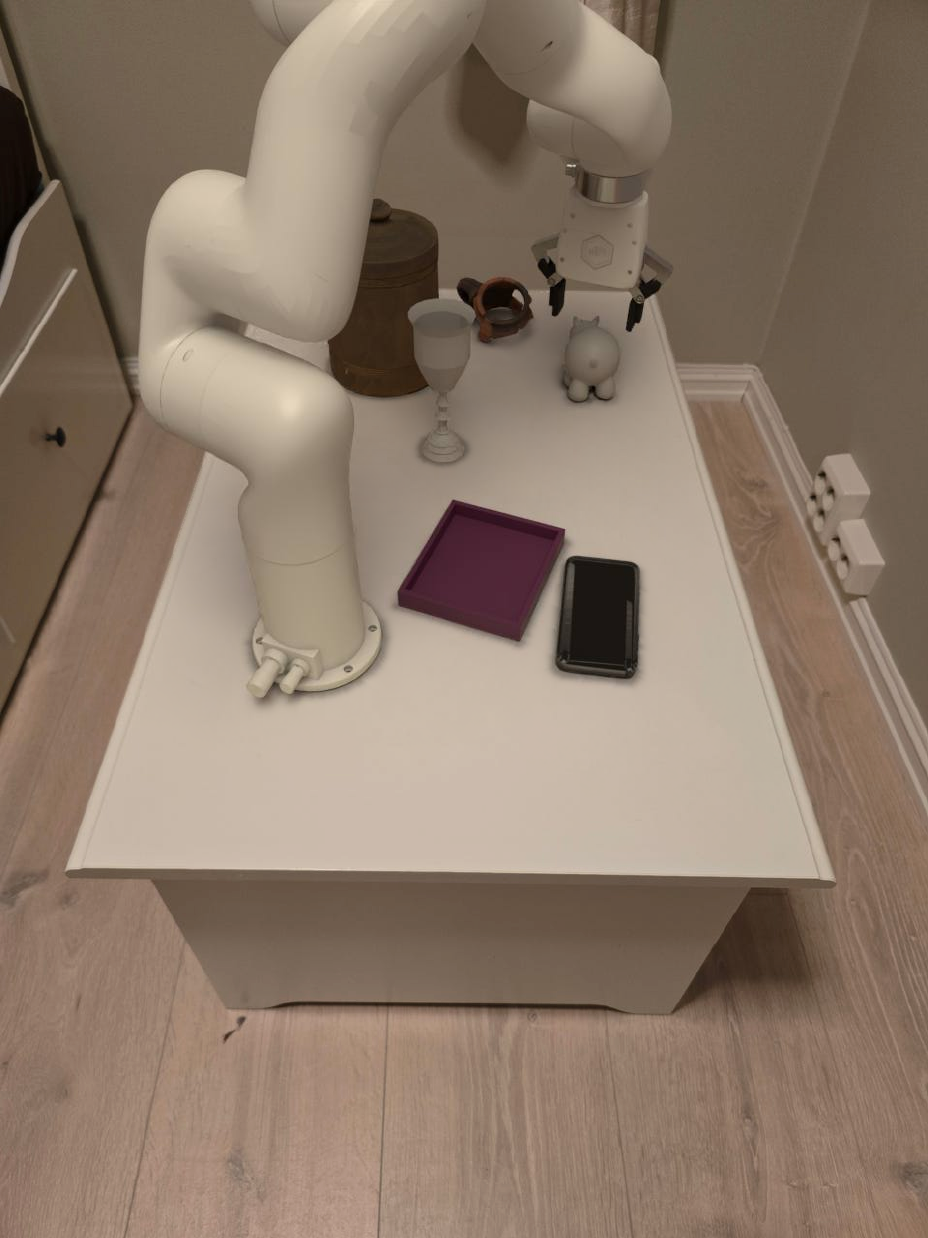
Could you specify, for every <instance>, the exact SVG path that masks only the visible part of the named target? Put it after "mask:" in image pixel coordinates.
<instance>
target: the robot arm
mask: <svg viewBox="0 0 928 1238" xmlns="http://www.w3.org/2000/svg"><path fill="white" fill-rule="evenodd" d="M249 2H250V5H251V9H252V11H253V13H254V15H255V17H256V19H257V21H258V23H259V24H260V26H261V27H262V29H263V30H264V31H265V32H266V33H267V34H268V35H269V37H271V38H272V39H273V40H274V41H275V42H276V43H278V44H279V45H281V46H283V47H284V48H286V50H285V51H284V52H283V53H282V55H281V56H280V58H279V59H278V61H277V62H276V64H275V65H274V67H273V69H272V70H271V73H270V74H269V77H268V79H267V80H266V82H265V85H264V88H263V90H262V93H261V95H260V98H259V102H258V107H257V113H256V118H255V123H254V130H253V136H252V142H251V148H250V154H249V160H248V167H247V172H246V177H245V176H241V175H238V174H235V173H231V172H228V171H226V170H225V171H224V170H220V169H210V168H209V169H206V168H205V169H197V170H194V171H190V172H187V173H185V174H183V175H182V176H180V177H178V178H176V180H175V181H174V182H172V183H171V184H170V185H169V186H168V188H167V189H166V190H165V191H164V193H163V194H162V196H161V198H160V199H159V200H158V203H157V205H156V207H155V209H154V211H153V214H152V216H151V218H150V221H149V222H150V223H149V225H148V229H147V234H146V241H145V250H144V259H143V272H142V290H141V303H140V304H141V305H140V320H139V337H138V355H137V356H138V357H137V380H138V383H137V384H138V389H139V395H140V398H141V402H142V405H143V407H144V409H145V411H146V413H147V415H149V417H150V418H151V420H152V421H153V422H154V423H155V424H156V425H157V426H158V427H160V428H161V429H163V430H164V431H165V432H166V433H169V434H171V435H172V436H174V437H176V438H178V439H179V440H182V441H183V442H186V443H188V444H190V445H192V446H194V447H196V448H198V449H201V450H202V451H205V452H206V453H209V454H210V455H213V456H214V457H215V458H217V459H219V460H221V461H223V462H225V463H226V464H229V465H230V466H232V467H234V468H236V469H237V470H239V472H241V473H242V474H243V475H244V477H245V478H246V480H247V484H248V485H247V486H246V487H245V488H244V490H243V491H242V493H241V495H240V497H239V499H238V503H237V510H236V511H237V512H236V513H237V522H238V527H239V531H240V535H241V539H242V542H243V546H244V550H245V554H246V558H247V562H248V567H249V570H250V575H251V579H252V583H253V587H254V591H255V595H256V599H257V603H258V604H257V605H258V607H259V612H260V615H261V617H260V618H259V620H257V623H256V625H255V627H254V629H253V634H252V638H251V642H252V652H253V655H254V659H255V661H256V663H257V665H258V668H257V669H256V670H255V672H254V673H253V675H252V676H251V678H250V679H249V681H248V682H247V684H246V685H245V687H246V690H247V691H248V692H249V693H250V694H251V695H253V696H256V697H257V698H264V697H265V696H266V694H267V693H268V691H269V690H270V689H271V687H272V685H273V684H274V683H276V684H278V685H279V688H280V690H281V691H282V692H284V693H285V694H289V695H291V694H293V693H294V691H301V692H323V691H327V690H334V689H336V688H338V687H341V686H342V687H343V686H345V685H347V684H349V683H350V682H353V681H354V680H356V679H357V678H359V677H360V676H361V675H362V674H364V673H365V672H366V671H367V670H368V669H369V668H370V667H371V666H372V665H373V663H374V662H375V660H376V658H377V656H378V655H379V653H380V649H381V646H382V636H383V635H382V629H381V628H382V627H381V624H380V620H379V616H378V615H377V614H376V612H375V611H374V609H373V608H372V607H371V606H370V605H369V604H368V602H366V601H365V600H364V599H362V591H361V582H360V574H359V565H358V563H359V562H358V556H357V546H356V545H357V544H356V538H355V530H354V521H353V514H352V507H351V506H352V505H351V493H350V464H351V454H352V453H351V452H352V448H353V447H352V445H353V438H354V432H355V431H354V430H355V412H354V411H355V410H354V406H353V403H352V400H351V398H350V396H349V394H348V392H347V390H346V389H345V388H344V386H343V385H342V384H341V383H340V382H338V380H337V379H336V378H335V377H334V376H333V375H331V374H330V373H328V372H327V371H325V370H324V369H322V368H321V367H320V366H317V365H316V364H314V363H312V362H311V361H308V360H306V359H305V358H302V357H299V356H297V355H295V354H292V353H289V352H287V351H284V350H282V349H280V348H278V347H276V346H275V347H274V346H272V345H270V344H268V343H265V342H261V341H258V340H257V339H254V338H252V337H248V336H247V335H244V334H241V333H240V326H241V321H242V322H244V323H246V324H248V325H252V326H254V327H256V328H258V329H262V330H264V331H266V332H269V333H272V334H274V335H277V336H280V337H283V338H286V339H290V340H293V341H298V342H302V343H312V344H313V343H314V344H315V343H316V344H317V343H321V342H325V341H328V340H329V339H331V338H333V337H334V336H335V335H337V334H338V333H339V332H340V331H341V330H342V329H343V328H344V326H345V324H346V323H347V321H348V319H349V316H350V314H351V311H352V308H353V305H354V301H355V297H356V293H357V288H358V283H359V278H360V273H361V267H362V261H363V256H364V250H365V244H366V239H367V233H368V227H369V221H370V216H371V210H372V204H373V199H375V192H376V186H377V182H378V176H379V172H380V168H381V163H382V159H383V155H384V151H385V148H386V145H387V143H388V140H389V138H390V135H391V133H392V131H393V129H394V128H395V126H396V125H397V122H398V121H399V119H400V117H402V115H403V114H404V112H405V111H406V109H408V107H409V106H410V105H411V104H412V102H413V101H414V100H415V99H416V98H417V97H418V96H419V95H420V94H421V93H422V92H423V91H424V90H425V89H426V88H427V87H428V86H430V85H431V84H432V83H433V82H435V81H436V80H437V79H438V78H440V77H441V76H442V75H443V74H445V73H447V72H448V71H449V70H450V69H451V68H452V67H453V66H454V65H455V64H457V63H458V62H459V61H460V59H461V58H462V57H463V56H464V55H465V53H467V51H468V49H469V48H470V46H471V45H472V44H473V46H474V47H475V48H476V49H477V51H478V52H479V54H480V55H481V56H482V58H483V59H484V60H485V61H486V63H487V64H488V66H489V67H490V68H491V70H492V71H493V72H494V73H495V75H496V77H498V79H499V80H500V81H501V82H502V83H503V84H504V85H506V87H508V88H509V89H511V90H513V91H515V92H516V93H518V94H520V95H521V96H523V97H525V98H527V99H529V100H528V104H527V109H526V119H525V120H526V128H527V131H528V133H529V136H530V137H531V140H533V142H534V143H535V144H536V145H537V146H538V147H539V148H541V149H543V150H545V151H547V152H550V153H552V154H556V155H560V156H563V157H567V158H571V159H575V160H577V161H574V162H567V163H566V165H565V173H564V174H565V176H569V177H571V178H572V179H573V178H574V179H573V180H574V182H575V183H574V185H572V187H571V188H569V190H568V193H567V196H566V200H565V204H564V207H563V212H562V218H561V222H560V228H559V232H557V233H554V234H551V235H549V236H545V237H543V238H539V239H536V240H535V241H534V242H533V244H532V245H531V246H530V249H531V253H532V254H533V257H534V259H535V261H536V263H537V268H538V270H539V271H540V272H541V274H542V275H543V277H544V278H545V279H546V284H547V285H548V286H549V292H548V293H549V294H548V295H549V296H548V306H549V307H551V317H553V318H556V317H558V316H559V314H560V313H561V311H562V310H563V308H564V305H565V298H566V297H565V296H566V286H567V280H569V281H575V282H579V283H584V284H590V285H595V286H598V287H605V288H609V289H610V288H611V289H615V290H628V292H629V293H630V295H631V297H632V298H631V299H630V302H629V305H628V311H627V319H626V323H625V331H626V332H627V333H632V331H633V329H634V327H635V325H636V324H638V325H639V324H640V323H641V321H642V318H643V313H644V306H645V301H646V300H647V299H648V298H650V297H652V296H653V295H655V294H656V293H658V292H659V291H660V290H661V288H662V287H663V286H664V285H665V283H666V282H667V281H668V280H669V279H670V278H671V276H672V274H673V272H674V269H675V268H674V265H672V264H671V263H670V262H668V261H667V260H666V259H665V258H663V257H662V256H661V255H660V254H658V253H657V252H655V251H654V250H653V249H651V248H650V247H649V246H648V237H649V220H650V218H649V217H650V206H649V205H650V204H649V193H648V192H647V191H646V190H644V189H645V182H646V176H647V170H649V169H651V168H652V167H653V166H655V165H656V164H657V163H658V161H659V160H660V159H661V157H662V156H663V154H664V152H665V151H666V148H667V147H668V143H669V140H670V137H671V131H672V124H673V113H672V112H673V111H672V103H671V97H670V95H669V92H668V88H667V86H666V83H665V81H664V78H663V76H662V73H661V72H662V71H661V67H660V63H659V61H658V60H657V58H655V57H654V56H653V55H651V54H649V53H647V52H646V51H645V50H644V49H643V48H642V47H641V46H639V45H638V44H637V43H636V42H634V41H633V40H631V38H629V37H628V36H627V35H626V34H625V33H624V34H623V32H621V31H620V30H619V29H617V28H616V27H615V26H613V25H612V24H611V23H609V22H608V21H607V20H606V19H605V18H603V17H602V16H601V15H600V14H598V13H597V12H596V11H594V10H592V8H590V7H588V6H587V5H586V4H584V3H582V2H581V1H580V0H249ZM554 249H556V254H555V262H554V261H553V260H552V258H551V257H550V256H549V255H548V251H551V250H554ZM645 265H646V266H648V268H650V269H652V270H653V271H654V272H655V273H656V275H655V277H653V278H652V279H650V280H648V281H647V280H646V278H645V276H644V275H643V274H642V272H643V270H644V267H645Z"/></svg>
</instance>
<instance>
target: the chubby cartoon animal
mask: <svg viewBox="0 0 928 1238" xmlns="http://www.w3.org/2000/svg"><path fill="white" fill-rule="evenodd" d="M599 324H600V315H596V316H595V317H594V318H593V319H591V320H587V319H584V320H583V317H580V319H579V318H578V317H577V316H576V315H574V316H573V318H572V327H571V328H570V330H569V334H568V341H567V343H566V345H565V347H564V351H563V363H564V368H565V369H566V370H565V371H566V373H565V376H564V385H565V386H566V387H568V390H567V391H568V393H567V396H568V398H569V399H571V400H572V401H574V402H584V401H585V400H587V399H588V397H589V391H590V390H592V389H593V387H595V389H594V392H595V395H596V396H597V397H598V398H600V399H604V400H609V399H611V398H612V397H614V395H615V394H616V381H615V379H614V378H615V377H614V375H615V373H617V371H618V368H619V366H620V363H621V357H622V356H621V354H622V353H621V347H620V344H619V342H618V340H617V338H616V337H615V335H613V334H612V333H611V332H610V331H608V330H607V329H605V328H602V327H599Z"/></svg>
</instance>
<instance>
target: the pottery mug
mask: <svg viewBox="0 0 928 1238" xmlns="http://www.w3.org/2000/svg"><path fill="white" fill-rule="evenodd" d="M515 290H516V291H518V292H519V293H520V294H521V296H522V299H523V302H521V301H519V300H518V299H517V297H515V296H514V295H513V294H514V292H515ZM456 291H457V292H456V293H457V294H458V295H457V296H459V298H460V299H461V300H462V302H464V303H466V304H467V305H469V306H471V307H472V309H473V310H474V311H475V316H476V317H475V318H476V320H477V322H478V323H479V325H480V327H479V330H478V332H477V337H478V338H479V339H480V340H481V341H483V342H484V343H489V342H490V341H491V340H498V339H502V338H508V337H511V336H513V335H516V334H518V333H519V330H523V329H524V328H525V327H526V326H527V324H528V323H529V322H530V321H531V320H533V319H534V318H535V316H534V313H533V310H532V308H531V306H530V305H532V303H533V298H532V296H531V295H530V294H529V291H528V289H527V288H526V287H525V286H524V285H523V284H522V283H521V282H519V281H517V280H515V279H513V278H511V277H506V276H503V277H502V276H497V277H493V278H490V279H489V280H487V281H485V282H484V283H483V282H481V281H479V280H477V279H475V278H472V277H467V276H466V277H463V278H461V279H459V281H458V283H457V286H456ZM500 308H504V309H508V310H510V311H512V312H514V313H515V314H516V315H515V316H513V317H510V318H505V319H501V318H496V317H492V316H491V321H490V320H488V318H486V316H487V313H488V312H489V311H491V310H494V309H500Z"/></svg>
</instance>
